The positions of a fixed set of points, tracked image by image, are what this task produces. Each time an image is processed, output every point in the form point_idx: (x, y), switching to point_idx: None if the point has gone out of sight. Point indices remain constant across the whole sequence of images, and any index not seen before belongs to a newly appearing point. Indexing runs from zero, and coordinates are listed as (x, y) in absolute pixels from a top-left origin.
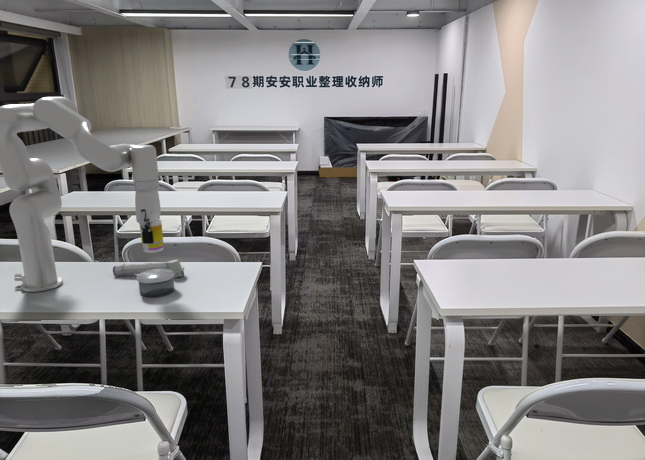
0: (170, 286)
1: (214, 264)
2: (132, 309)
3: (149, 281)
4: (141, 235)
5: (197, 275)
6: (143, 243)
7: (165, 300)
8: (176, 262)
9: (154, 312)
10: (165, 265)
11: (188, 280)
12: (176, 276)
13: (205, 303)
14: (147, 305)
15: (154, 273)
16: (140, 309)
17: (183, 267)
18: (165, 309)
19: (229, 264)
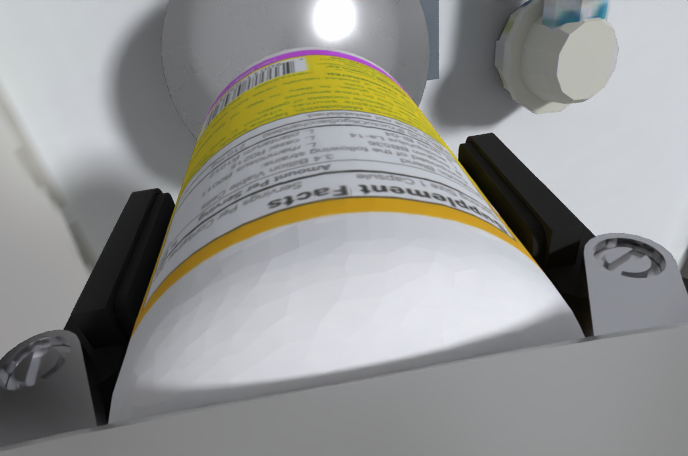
0: None
1: (679, 174)
2: (3, 28)
3: (173, 89)
4: (192, 181)
5: (530, 157)
6: (194, 152)
7: (185, 148)
8: (560, 94)
9: (34, 164)
10: (560, 5)
11: (461, 143)
12: (499, 70)
13: None
14: (92, 87)
15: (330, 46)
16: (28, 76)
17: (559, 108)
18: (89, 196)
19: (658, 236)
